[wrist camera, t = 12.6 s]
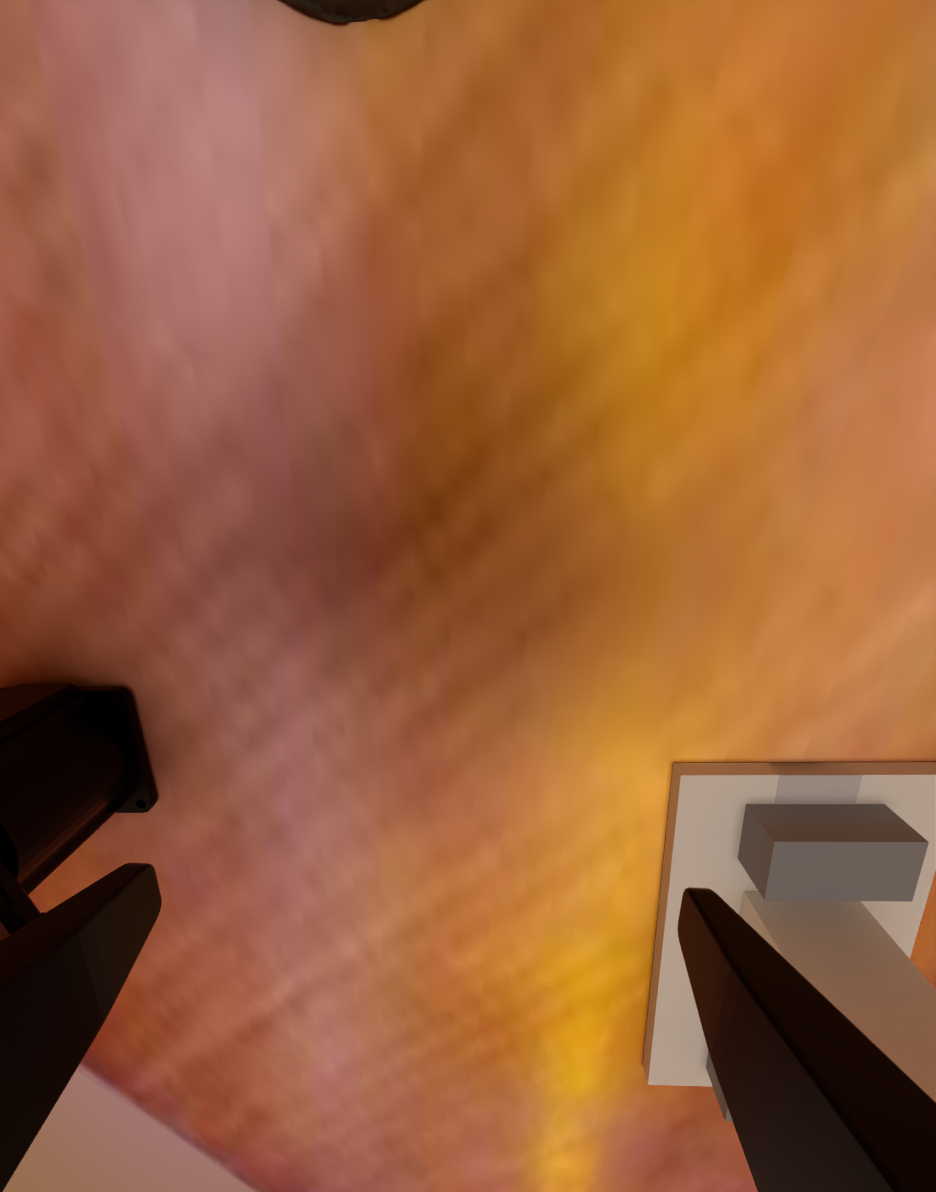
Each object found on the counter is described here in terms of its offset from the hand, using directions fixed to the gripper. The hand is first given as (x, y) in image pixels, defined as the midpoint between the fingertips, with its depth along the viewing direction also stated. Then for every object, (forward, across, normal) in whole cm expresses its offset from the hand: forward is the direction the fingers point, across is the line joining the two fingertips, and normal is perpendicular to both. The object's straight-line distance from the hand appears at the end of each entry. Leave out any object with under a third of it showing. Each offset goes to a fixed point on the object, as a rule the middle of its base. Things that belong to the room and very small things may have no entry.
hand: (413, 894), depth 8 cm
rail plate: (+13, -16, +16) cm, 26 cm away
